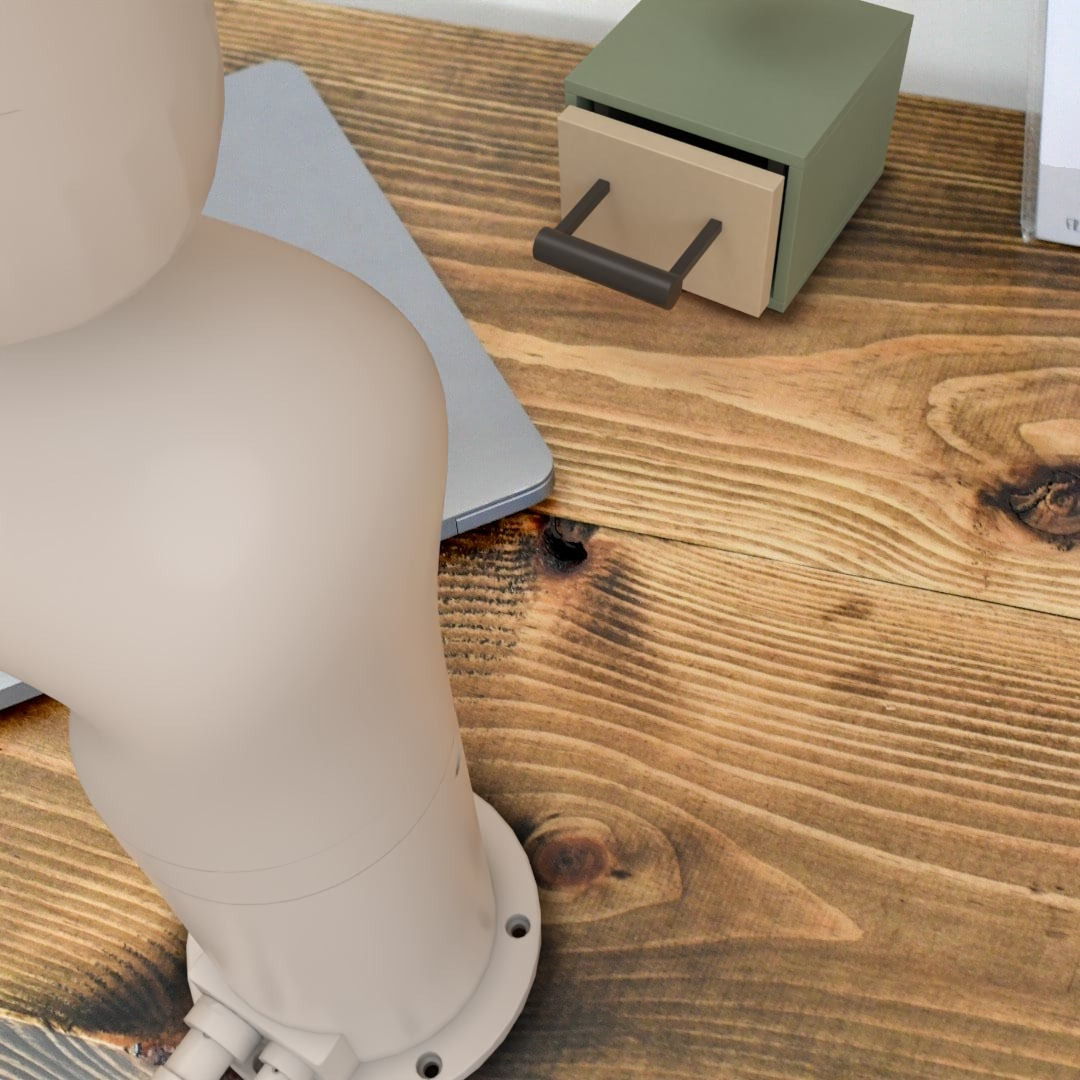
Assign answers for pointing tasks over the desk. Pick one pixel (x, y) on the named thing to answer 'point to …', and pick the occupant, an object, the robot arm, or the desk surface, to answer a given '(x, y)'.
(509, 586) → the desk surface
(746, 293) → the drawer
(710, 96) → the cabinet
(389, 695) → the robot arm
